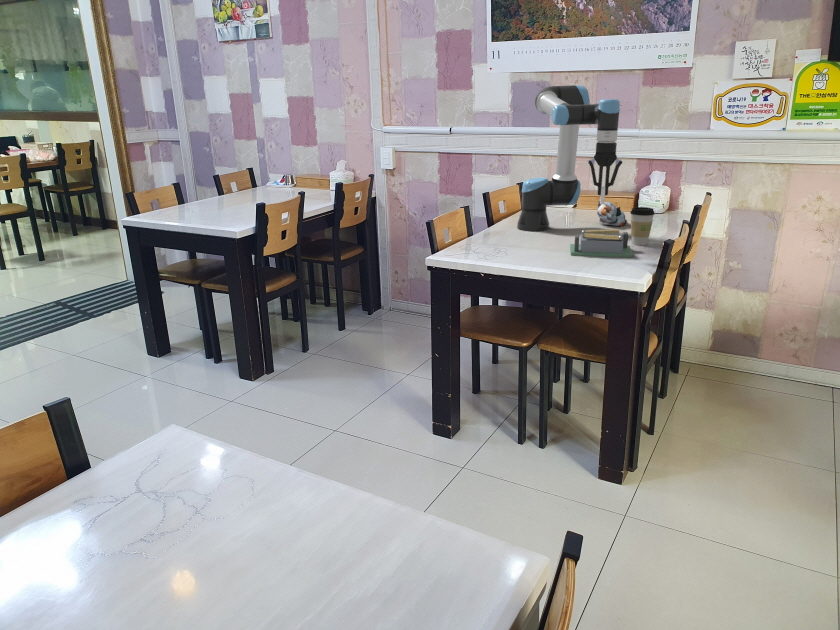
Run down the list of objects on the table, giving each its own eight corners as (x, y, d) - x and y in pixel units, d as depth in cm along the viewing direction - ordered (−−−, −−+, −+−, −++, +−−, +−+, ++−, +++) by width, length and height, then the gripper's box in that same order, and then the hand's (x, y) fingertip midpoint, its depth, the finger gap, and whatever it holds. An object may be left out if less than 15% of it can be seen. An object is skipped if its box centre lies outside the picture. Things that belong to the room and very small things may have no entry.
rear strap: (581, 235, 269) (581, 231, 269) (581, 233, 273) (581, 229, 272) (619, 233, 266) (619, 230, 266) (618, 231, 270) (618, 228, 269)
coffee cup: (653, 246, 274) (656, 211, 269) (628, 246, 276) (631, 210, 271) (650, 241, 283) (653, 207, 278) (626, 241, 285) (629, 206, 280)
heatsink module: (570, 255, 263) (571, 238, 261) (570, 246, 277) (571, 230, 274) (632, 257, 258) (634, 239, 256) (629, 248, 272) (630, 231, 270)
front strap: (622, 238, 262) (622, 234, 261) (622, 240, 258) (623, 237, 257) (584, 236, 264) (584, 232, 264) (584, 238, 261) (584, 234, 260)
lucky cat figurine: (631, 226, 312) (624, 203, 305) (606, 236, 315) (599, 213, 307) (620, 212, 324) (614, 189, 317) (597, 222, 327) (590, 199, 319)
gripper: (589, 142, 247) (585, 205, 255) (625, 142, 244) (619, 205, 252) (588, 141, 254) (584, 201, 262) (623, 140, 251) (618, 202, 259)
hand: (601, 203), depth 257 cm, fingers closed
